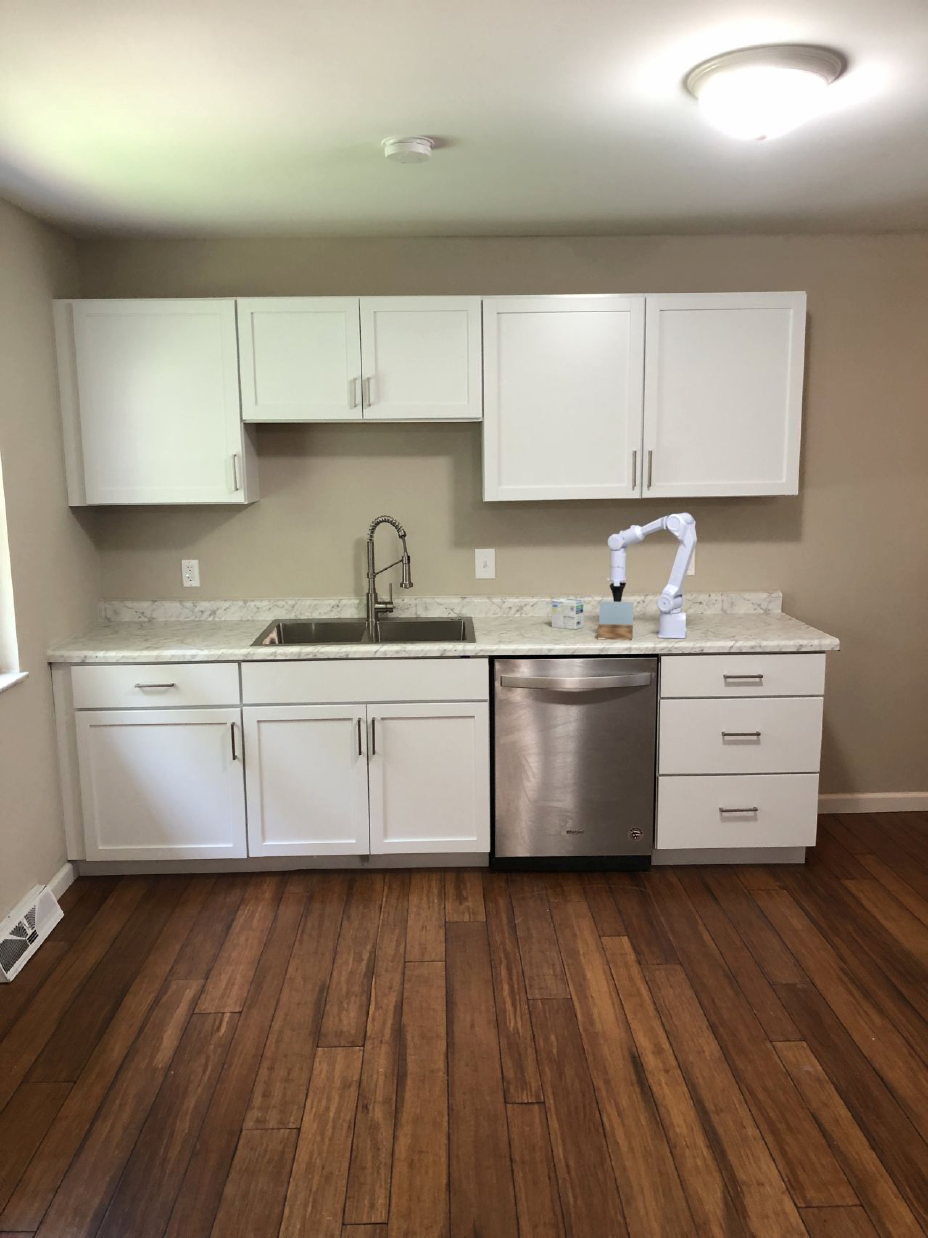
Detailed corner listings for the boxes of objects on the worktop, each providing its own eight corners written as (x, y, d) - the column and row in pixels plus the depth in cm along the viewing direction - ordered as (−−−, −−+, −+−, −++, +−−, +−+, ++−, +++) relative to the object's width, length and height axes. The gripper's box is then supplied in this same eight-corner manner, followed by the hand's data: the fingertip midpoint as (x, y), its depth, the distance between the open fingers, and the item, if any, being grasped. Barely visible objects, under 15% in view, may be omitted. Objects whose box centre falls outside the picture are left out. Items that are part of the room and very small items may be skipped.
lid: (632, 624, 336) (632, 625, 337) (633, 601, 337) (633, 601, 338) (599, 624, 339) (599, 624, 340) (599, 600, 339) (600, 601, 341)
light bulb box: (584, 627, 356) (584, 599, 354) (575, 630, 351) (576, 601, 349) (559, 624, 362) (559, 597, 360) (550, 627, 357) (550, 599, 355)
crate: (632, 636, 337) (632, 625, 336) (631, 640, 329) (631, 629, 328) (599, 635, 339) (599, 624, 339) (597, 639, 332) (597, 628, 331)
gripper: (608, 564, 352) (607, 600, 354) (605, 568, 338) (605, 605, 340) (627, 564, 350) (626, 600, 352) (625, 568, 336) (625, 606, 338)
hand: (617, 603), depth 346 cm, fingers open, 4 cm apart
